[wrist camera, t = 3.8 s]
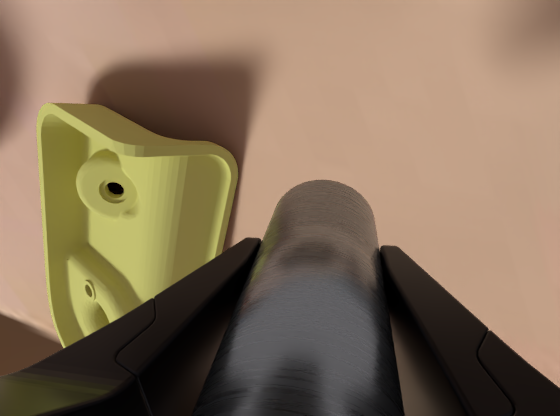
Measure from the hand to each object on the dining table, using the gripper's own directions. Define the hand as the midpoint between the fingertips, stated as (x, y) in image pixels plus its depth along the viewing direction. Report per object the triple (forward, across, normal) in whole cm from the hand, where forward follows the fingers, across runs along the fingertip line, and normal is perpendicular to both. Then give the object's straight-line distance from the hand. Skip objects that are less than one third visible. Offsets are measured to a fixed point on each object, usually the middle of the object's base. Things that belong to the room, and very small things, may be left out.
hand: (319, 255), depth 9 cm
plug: (+2, 0, 0) cm, 2 cm away
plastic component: (+12, +14, +8) cm, 20 cm away
